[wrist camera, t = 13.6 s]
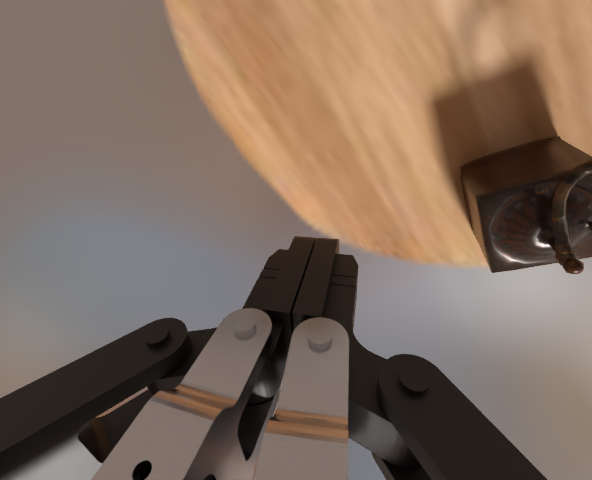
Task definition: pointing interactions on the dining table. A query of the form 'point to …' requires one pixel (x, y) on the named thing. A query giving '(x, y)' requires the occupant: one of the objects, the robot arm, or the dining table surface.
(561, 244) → the manual coffee grinder
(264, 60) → the dining table surface
